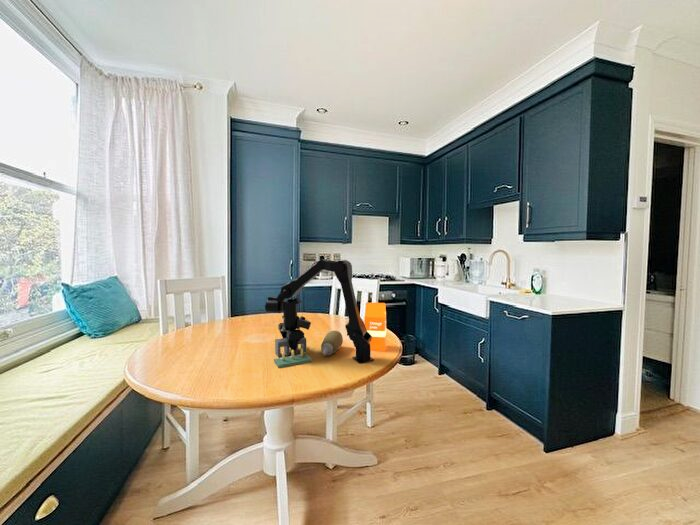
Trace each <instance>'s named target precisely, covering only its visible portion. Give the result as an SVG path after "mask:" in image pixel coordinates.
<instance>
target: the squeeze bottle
mask: <svg viewBox="0 0 700 525" xmlns="http://www.w3.org/2000/svg"><path fill="white" fill-rule="evenodd" d="M343 339H344V338H343V335H342V332H340V331H338V330H331V331H329V332H327V333H326V335H325V336H324V339H323V341H322V343H321V345H320V351H321V353H322V356H330V355H332V356H333V355H334V354H335V352H337V351H338V350H339V348H340V347H341V346H342V345H343V343H344V342H343Z"/></svg>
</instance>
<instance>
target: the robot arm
mask: <svg viewBox="0 0 700 525" xmlns="http://www.w3.org/2000/svg"><path fill="white" fill-rule="evenodd" d="M323 271H327V272H334V274H335V276H336V278H337V280H338V282H339V284H340V286H341V291H342V294H343V299H344V303H345V307H346V313H347V317H348V322H347V323H346V324H345V325H344V326H345V330H346V333H347V334H346V337H347V336H348V338H349V340H350V341H352V344H353V347H354V348H355V356H352V357H351V359H353V360H354V361H356V362H357V363H358V364H363V363H369V362H373V361H375V359H374V358H372V357H371V350H370V341H371V339H372V336H371V335H370V334H369V333H368V332H367V329H366V327H365V324H364V320H363V319H362V317H361V316H360V311H359V307H358V302H357V299H356V294H355V290H354V287H353V286H354V285H353V280H352V279H353V265H352V263H351V262H350V261H349V260H346V259H342V260H329V259H325V258H324V259H319V260H318V261H316V262H315V263H314V264H313V265H312V266H310V267H309V269H306V271H305V272H303V273H302V274H301V275H300V276H299V277H297V278H296V279H293V280H291V281H289V282H288V283H286V284H283V285H282V286H281V288H280V293H279V294H278V295H277V296H268V297H267V300H266V303H265V305H264V309H265V312H266V313H272V314H281V313H283V315H281V316H282V320H283V322H280V323H278V325H277V326H278V327H277V328H278V330H279V333H280V336H281V338H287V341H288V344H289V350H290V351H291V350H294V354H295V351H296V348H297V344H298V341H299V340H300V339H302V338H304V337H305V332H303V330H301V329H305V330H308V331H309V330H310V327H311V324H312V322H311V321H310V320H307V319H306V317H305V316H300V317H299V315H298V305H299V304H301V303H303V301H302V300H301V299H300V298H299V297H297V296H298V295H299V294H300V293H301V291H302V290H303V288H304V287H305V286H306V285H307V284H308V283H310V281H312V280H314V278H316V277H317V276H318V275H320V274H321V273H322V272H323ZM294 297H295V298H294ZM300 328H301V329H300ZM298 345H299V344H298Z"/></svg>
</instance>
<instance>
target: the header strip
mask: <svg viewBox="0 0 700 525" xmlns="http://www.w3.org/2000/svg"><path fill="white" fill-rule="evenodd" d="M290 351H291V352H290V353H291V355H289V356H286V354H285V351H284V350H283V351H282V352H281V357H277V358H274V359H273V362H274V364H275V365H276V366H277V368H278V369H279V368H285V367H290V366H296V365H301V364H306V363H312V362H313V359H312V358H311V357H310V356H309V355H308V354H307V353H304V352H303V348H301V347H300V354H295V353H294V350H291V349H290Z"/></svg>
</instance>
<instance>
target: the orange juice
mask: <svg viewBox="0 0 700 525" xmlns="http://www.w3.org/2000/svg"><path fill="white" fill-rule="evenodd" d="M386 308H387V307H386V303H385V302H365V308H364V309H365V310H364V320H363V322H364V324H365V327H366V329H367V332H368V333H369V334H370V335H371V336H372V339H371V341H370V351H377V352H378V351H379V352H385V351H386V347H387V310H386Z"/></svg>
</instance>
